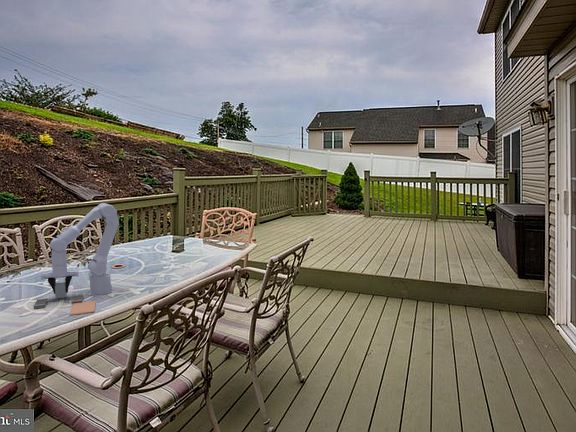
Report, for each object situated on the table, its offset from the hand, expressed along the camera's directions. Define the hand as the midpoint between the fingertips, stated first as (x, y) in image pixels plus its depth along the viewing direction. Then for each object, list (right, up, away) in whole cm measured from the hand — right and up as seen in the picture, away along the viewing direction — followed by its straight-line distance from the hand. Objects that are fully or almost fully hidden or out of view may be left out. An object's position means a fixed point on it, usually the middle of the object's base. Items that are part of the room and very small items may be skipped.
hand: (61, 292), depth 165 cm
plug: (-1, -1, +2) cm, 3 cm away
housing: (+3, -4, -5) cm, 7 cm away
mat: (+16, -5, -10) cm, 20 cm away
